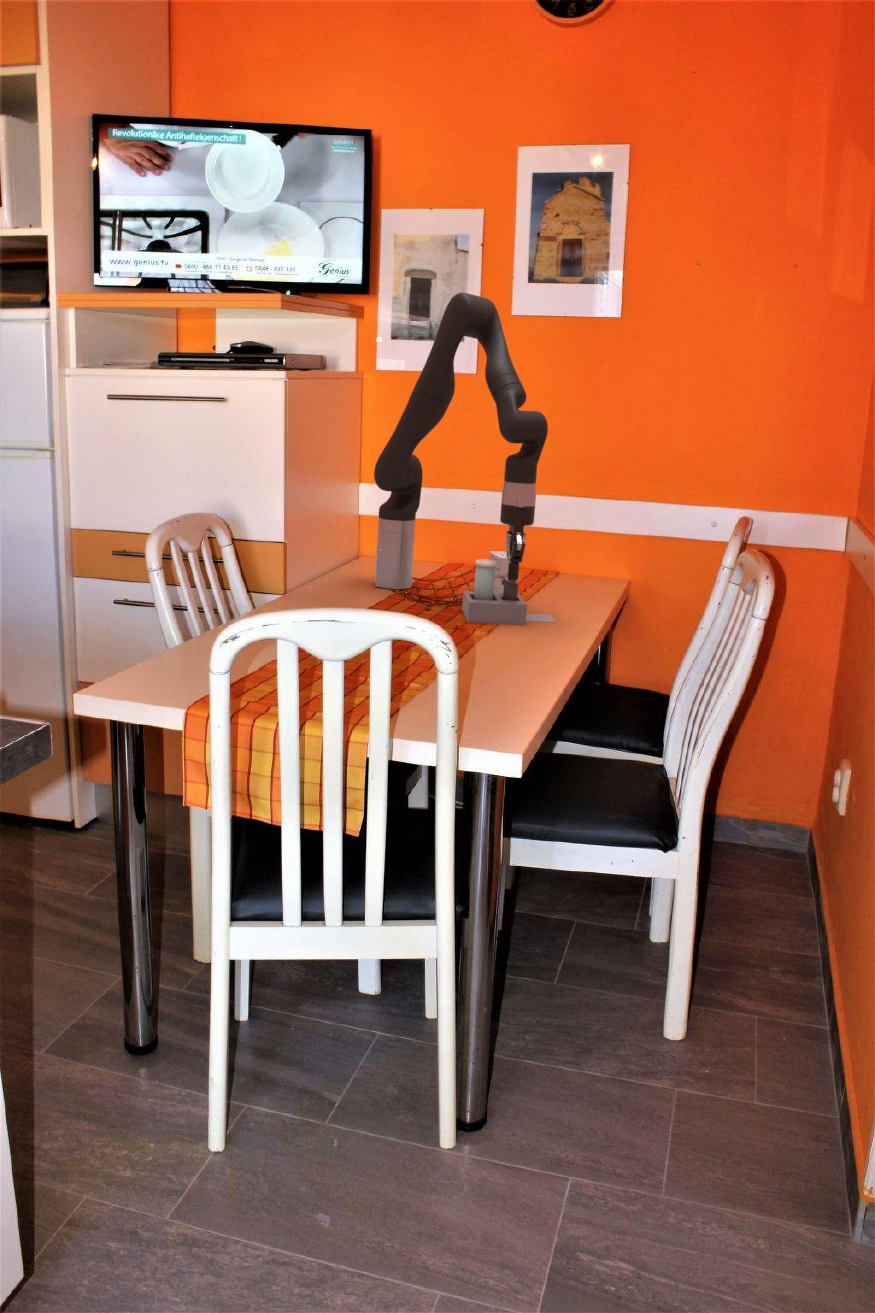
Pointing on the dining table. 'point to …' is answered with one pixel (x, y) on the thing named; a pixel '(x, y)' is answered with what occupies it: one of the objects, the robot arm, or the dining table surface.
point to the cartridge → (484, 579)
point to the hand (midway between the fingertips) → (512, 579)
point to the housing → (494, 609)
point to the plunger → (510, 591)
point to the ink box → (500, 570)
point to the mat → (539, 618)
